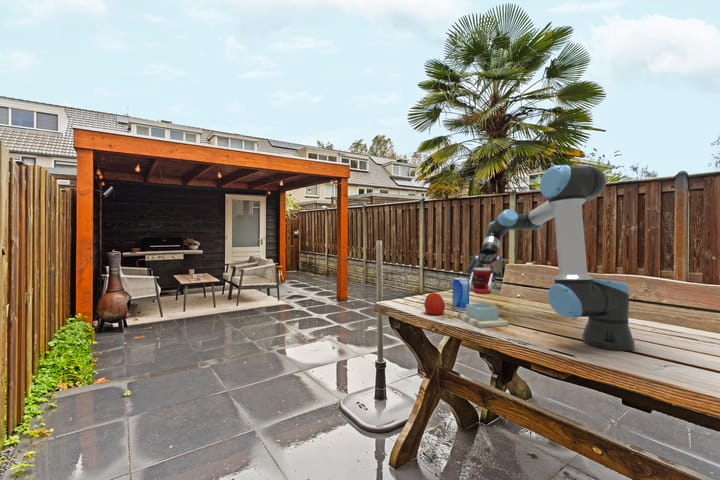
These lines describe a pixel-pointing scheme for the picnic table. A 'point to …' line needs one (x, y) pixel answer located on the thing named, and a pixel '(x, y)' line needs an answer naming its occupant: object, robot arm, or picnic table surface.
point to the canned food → (481, 280)
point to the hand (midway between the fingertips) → (479, 285)
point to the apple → (434, 304)
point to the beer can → (460, 293)
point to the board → (483, 321)
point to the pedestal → (482, 311)
